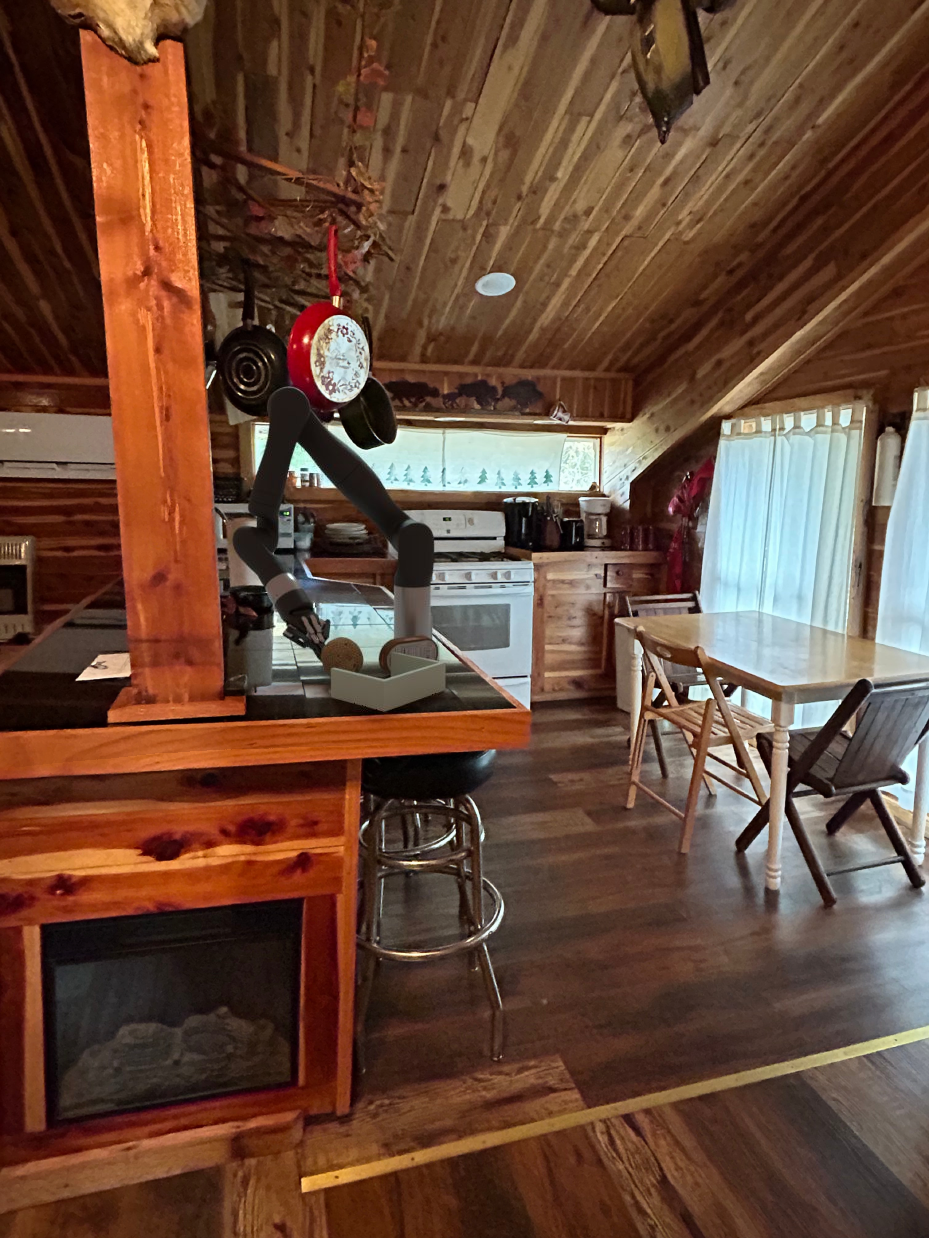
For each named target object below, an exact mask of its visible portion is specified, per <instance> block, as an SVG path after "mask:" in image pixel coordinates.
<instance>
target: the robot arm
mask: <svg viewBox="0 0 929 1238" xmlns="http://www.w3.org/2000/svg"><path fill="white" fill-rule="evenodd" d="M266 412H267V415H268V417H269V421H268V431H267V432H268V433H267V438H266V443H265V446H264V447H265V448H264V451H263V454H262V457H261V459H260V462H259V466H258V469H257V471H256V474H255V477H254V481H253V484H252V488H251V492H250V494H249V499H248V504H247V511H248V513H249V514H250V515H252V516H254V517H256V526H252V525H251V526H250V525H241V526H240V527H238V528H237V529H235V531H234V532H233V533H232V547H233V549H234V551H235V554H237V556H238V557H239V559H241V561H242V562H243V563H244V565H246V566H247V567H248V568H249V569H250V570H251V571H252V572H254V574H255V575H257V578H258V579H259V581H260V582H261V585H262V586H263V587H264V589H265V591H266V593H267V596H268V598H269V600H270V601H271V603H272V605H273V607H274V608H275V609H276V612H277V613H278V615H279V617H280V619H281V620H282V621H283V623H285V625H286V628H285V630H284V631H283V632H282V637H285V638H286V639H288V640H289V641H291V642H292V643H294V644H296V645H297V646H299V647H301V648H302V649H306V648H309V649H310V650H312V651H313V653H314V655H315V657H316V658H317V660H319V661H320V662H321V663H322V660H321V653H322V650H323V648H324V646H325V645H326V642H327V641H328V640H329V639H330V633H331V620H330V619H328V618H326V619H325V620H324V619H321V618H320V616H319V614H318V613H316V612H315V610H314V605H313V603H312V600H311V599H310V598H309V596H308V594H307V593H306V591H305V589H304V588H303V586H302V585H301V582H300V581H299V580H298V579H297V578H296V576H294V574H293V572H292V571H291V569H290V568H289V566H288V564H287V562H286V561H285V560H284V558H282V557H281V556H279V555H278V554H274V553H275V551H276V550H277V548H278V545H279V538H280V536H279V535H280V534H279V533H280V532H279V531H280V530H279V529H280V528H279V526H280V519H279V518H280V517H279V512H280V509H281V505H282V502H283V497H284V493H285V489H286V485H287V480H288V476H289V471H290V467H291V463H292V459H293V456H294V452H295V449H296V445H297V444H298V445H299V446H300V447H301V448H302V449H303V450H304V451H305V452H306V453H307V454H308V456H309V457H310V458H311V459H312V461H313V462H314V464H316V467H318V468H319V470H320V471H321V472H322V473H323V475H325V478H327V479H328V480H329V481H330V483H331V484H332V485H333V486H334V487H335V488H336V489H337V490H338V491H339V493H341V495H342V496H344V497H345V498H346V499H347V500H348V501H349V502H350V503H351V504H352V505H353V506H354V507H355V508H357V509H358V510H359V511H360V512H361V513H363V515H365V516H366V517H367V518H368V519H369V520H370V521H371V522H373V523H374V525H375V526H376V528H377V529H378V530H379V531H380V532H381V533H382V535H383V536H384V538H385V539H387V541H388V542H389V544H390V545H391V546H392V547H393V549H394V550H395V551H396V552H397V566H396V567H397V568H396V571H395V573H394V575H393V639H394V638H403V637H411V636H419V635H424V636H427V637H429V638H430V639H432V640H433V613H431V604H432V603H431V599H432V598H431V593H432V592H431V591H432V587H431V586H432V585H431V581H432V577H433V573H434V564H435V561H434V560H435V537H434V533H433V530H432V529H431V528H430V526H428V525H427V524H426V523H424V522H421V521H417V520H414V519H413V518H412V517H410V516H409V515H408V514H407V513H406V512H405V511H404V510H403V509H401V507H400V506H398V504H397V503H395V501H394V500H393V499H392V497H391V496H390V494H389V492H388V491H387V489H386V488H385V486H384V484H383V482H382V480H381V479H380V478H379V476H378V474H376V473H375V471H374V470H373V468H371V466H369V464H368V463H367V462H366V461H365V460H364V459H363V458H362V457H361V456H360V455H359V454H358V453H357V451H355V450H354V449H352V448H351V447H350V446H349V445H348V444H346V443H345V442H344V441H343V440H342V439H340V438H339V437H338V436H336V435H335V434H334V433H333V432H332V431H331V430H329V428H328V427H326V426H325V424H323V423H322V421H321V420H320V419H319V418H318V416H317V415H316V414H315V413H314V411H313V410H312V409H311V405H310V401H309V399H308V397H307V396H306V394H305V393H304V392H303V391H302V390H300V389H299V388H297V387H294V386H284V387H281V388H279V389H277V390H275V391H274V392H273V393H272V394H270V396H269V397H268V400H267V403H266Z"/></svg>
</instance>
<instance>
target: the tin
mask: <svg viewBox="0 0 929 1238" xmlns="http://www.w3.org/2000/svg"><path fill="white" fill-rule="evenodd" d="M392 652H397V653H402V654H407V655H411V656H416V657H421V658H426V659H431V660H436V661H438V657H439V646H438V644H437V642H436V641H435V640H434V639H433V638H432V639H430V638H429V637H427V636H424V635H419V636H411V637H403V638H394V637H393V638H391V639H389V640H388V641H386V643H384V644H383V646H382V647H381V648H380V651H379V654H378V664H379V668H380V669H381V670H382V671H383V672H385V673H386V674H389V675H391V653H392Z"/></svg>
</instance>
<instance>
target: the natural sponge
mask: <svg viewBox="0 0 929 1238" xmlns="http://www.w3.org/2000/svg"><path fill="white" fill-rule="evenodd" d="M321 660H322V662H321V663H322V666H323V669H324V671H325V673H326V674H327V676H328V677H329V678H330V679H331V668H338V669H342V670H346V671H351V672H355V673H358V672H359V671H360V670H361V669H362V668H363V666H364V655H363V652H362V650H361V648H360V646H359V645H358V643H356V642H355V641H353V640H352V639H350V638H348V637H343V636H339V637H336V638H333V639H331V640H329V641H328V642H327V643H325V646H324V648H323V650H322V653H321Z"/></svg>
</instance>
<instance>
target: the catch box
mask: <svg viewBox="0 0 929 1238" xmlns="http://www.w3.org/2000/svg"><path fill="white" fill-rule="evenodd" d="M446 670H447V669H446V662H445V661H440V660H437V661H436V660H431V659H426V658H421V657H416V656H411V655H407V654H402V653H397V652H392V653H391V674H390V677H388V678H379V677H375V676H371V675H366V674H363V673H358V672H357V673H355V672H351V671H346V670H342V669H338V668H331V678H330V697H331V699H332V698H333V699H336V700H340V701H344V702H348V703H350V704H354V703H355V705H358V706H362V705H363V706H362V707H365V706H366V708H370V709H372V710H373V709H374V710H376V709H377V711H380V712H387V711H390V710H392V709H395V708H399V707H402V706H404V705H406V704H410V703H412V702H415V701H418V700H421V699H423V698H427V697H429V696H432V694H433V695H435V693H436V694H438V693H441V692H444V691H446Z"/></svg>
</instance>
